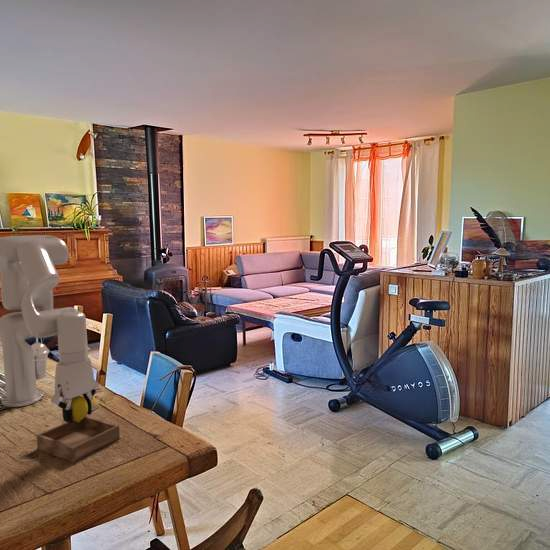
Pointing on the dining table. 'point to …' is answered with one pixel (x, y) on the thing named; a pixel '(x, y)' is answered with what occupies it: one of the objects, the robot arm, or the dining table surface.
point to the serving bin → (78, 438)
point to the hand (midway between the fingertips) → (77, 417)
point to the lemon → (79, 408)
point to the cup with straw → (40, 358)
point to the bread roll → (94, 403)
